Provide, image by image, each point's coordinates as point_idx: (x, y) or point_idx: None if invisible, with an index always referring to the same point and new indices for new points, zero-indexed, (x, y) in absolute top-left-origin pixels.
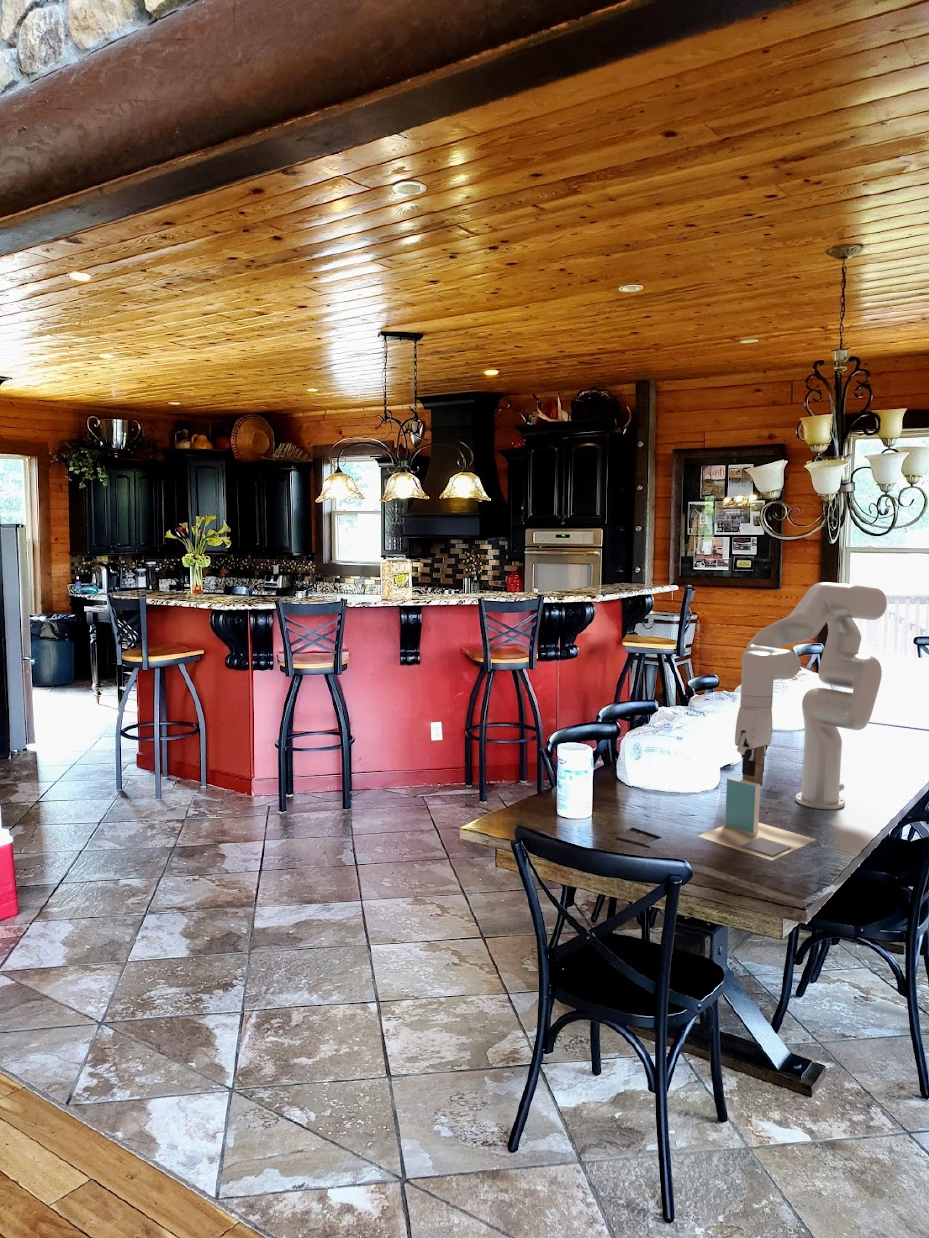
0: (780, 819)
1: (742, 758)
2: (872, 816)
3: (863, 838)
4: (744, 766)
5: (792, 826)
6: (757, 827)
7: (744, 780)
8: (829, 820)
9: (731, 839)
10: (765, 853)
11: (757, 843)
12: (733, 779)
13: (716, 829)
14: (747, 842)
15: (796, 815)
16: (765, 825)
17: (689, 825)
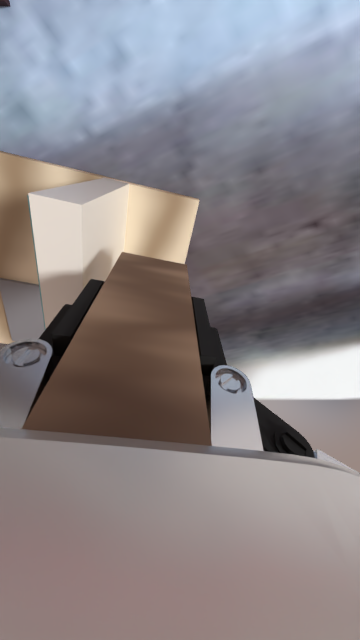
0: (270, 271)
1: (18, 346)
2: (354, 383)
3: None
4: (55, 323)
5: (234, 304)
6: None
7: (79, 287)
8: (305, 344)
9: (19, 240)
10: (9, 327)
11: (40, 301)
12: (45, 235)
13: (48, 170)
14: (37, 277)
15: (315, 290)
16: None
17: (47, 29)
